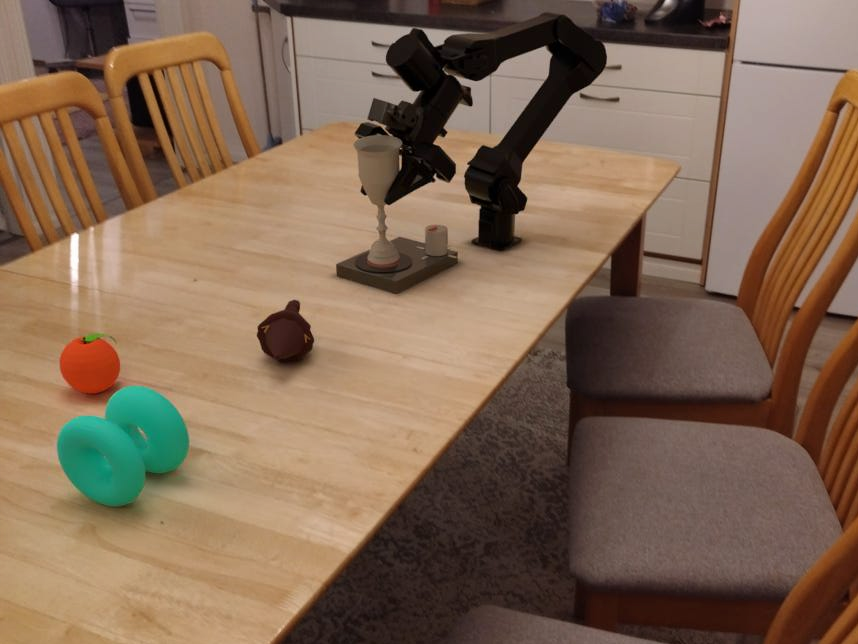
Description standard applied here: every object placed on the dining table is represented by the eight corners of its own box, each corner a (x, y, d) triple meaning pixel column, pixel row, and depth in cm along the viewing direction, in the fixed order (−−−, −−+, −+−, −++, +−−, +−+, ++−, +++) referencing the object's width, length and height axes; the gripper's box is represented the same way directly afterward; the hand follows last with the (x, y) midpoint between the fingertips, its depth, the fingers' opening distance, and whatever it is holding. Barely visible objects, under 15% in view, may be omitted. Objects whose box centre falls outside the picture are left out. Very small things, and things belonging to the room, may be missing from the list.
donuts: (61, 498, 104) (40, 414, 98) (127, 453, 111) (110, 372, 106) (139, 522, 100) (121, 436, 95) (200, 474, 108) (187, 392, 103)
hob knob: (434, 246, 163) (434, 221, 160) (452, 251, 161) (452, 225, 159) (420, 253, 160) (420, 227, 158) (438, 258, 158) (438, 231, 156)
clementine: (104, 369, 128) (93, 318, 124) (143, 382, 125) (133, 330, 122) (53, 394, 123) (40, 341, 119) (93, 408, 120) (81, 354, 116)
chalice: (379, 271, 153) (373, 156, 142) (351, 257, 157) (343, 143, 146) (415, 257, 157) (412, 143, 146) (387, 243, 161) (382, 131, 150)
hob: (405, 245, 169) (404, 233, 168) (470, 263, 163) (470, 250, 161) (336, 276, 157) (335, 262, 156) (403, 296, 150) (403, 282, 149)
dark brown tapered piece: (312, 338, 122) (325, 300, 136) (252, 323, 121) (270, 287, 134) (302, 389, 126) (315, 347, 139) (243, 375, 124) (261, 334, 138)
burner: (379, 248, 162) (379, 247, 162) (423, 260, 158) (423, 259, 157) (342, 264, 156) (342, 263, 155) (387, 277, 151) (387, 276, 151)
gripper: (361, 65, 150) (305, 153, 150) (440, 87, 138) (378, 182, 138) (405, 112, 158) (351, 195, 158) (482, 137, 147) (424, 226, 147)
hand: (374, 198), depth 150 cm, fingers closed on chalice, 6 cm apart
